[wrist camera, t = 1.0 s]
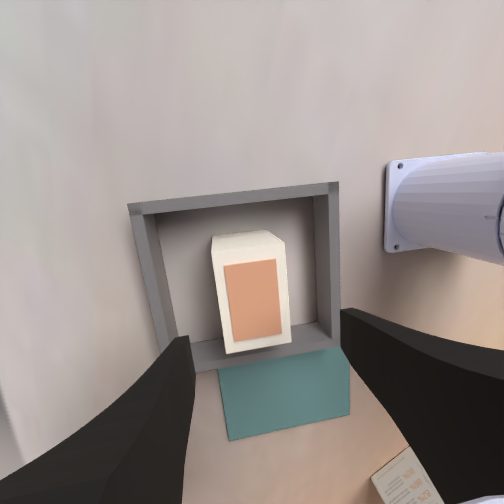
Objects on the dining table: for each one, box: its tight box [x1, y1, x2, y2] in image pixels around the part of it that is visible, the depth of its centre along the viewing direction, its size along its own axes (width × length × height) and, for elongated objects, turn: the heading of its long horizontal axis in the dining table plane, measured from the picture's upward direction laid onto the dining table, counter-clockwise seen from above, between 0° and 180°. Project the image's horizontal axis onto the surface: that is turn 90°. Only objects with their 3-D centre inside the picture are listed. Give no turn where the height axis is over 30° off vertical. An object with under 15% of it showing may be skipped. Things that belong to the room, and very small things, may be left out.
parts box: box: [211, 229, 292, 354], centre depth 18 cm, size 4×7×6 cm, turn 6°
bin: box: [127, 181, 341, 373], centre depth 20 cm, size 15×14×3 cm
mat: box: [218, 346, 350, 441], centre depth 25 cm, size 13×9×1 cm
